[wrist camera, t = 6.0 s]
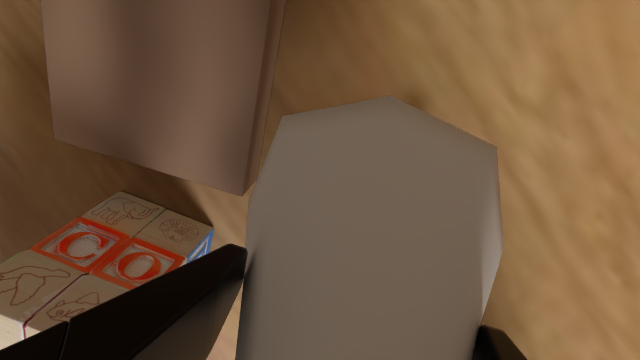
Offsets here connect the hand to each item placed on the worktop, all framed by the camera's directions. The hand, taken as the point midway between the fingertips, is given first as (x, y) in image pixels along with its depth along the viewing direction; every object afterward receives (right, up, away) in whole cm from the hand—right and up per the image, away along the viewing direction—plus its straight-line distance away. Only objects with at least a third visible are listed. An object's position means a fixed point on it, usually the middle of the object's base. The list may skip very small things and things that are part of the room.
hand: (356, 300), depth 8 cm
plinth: (-8, +8, +10) cm, 15 cm away
